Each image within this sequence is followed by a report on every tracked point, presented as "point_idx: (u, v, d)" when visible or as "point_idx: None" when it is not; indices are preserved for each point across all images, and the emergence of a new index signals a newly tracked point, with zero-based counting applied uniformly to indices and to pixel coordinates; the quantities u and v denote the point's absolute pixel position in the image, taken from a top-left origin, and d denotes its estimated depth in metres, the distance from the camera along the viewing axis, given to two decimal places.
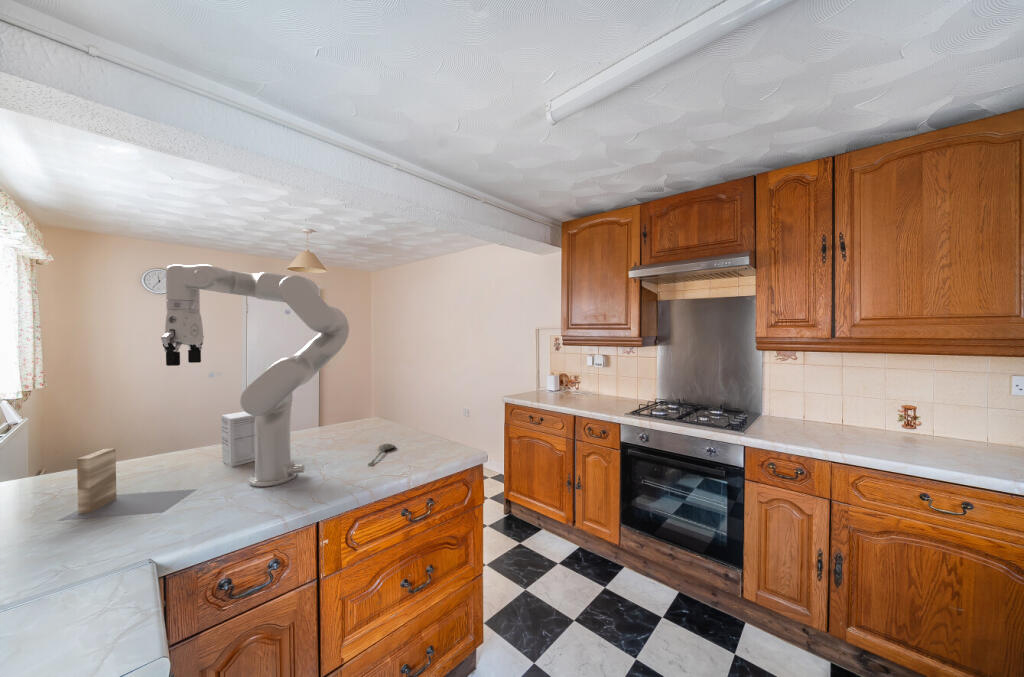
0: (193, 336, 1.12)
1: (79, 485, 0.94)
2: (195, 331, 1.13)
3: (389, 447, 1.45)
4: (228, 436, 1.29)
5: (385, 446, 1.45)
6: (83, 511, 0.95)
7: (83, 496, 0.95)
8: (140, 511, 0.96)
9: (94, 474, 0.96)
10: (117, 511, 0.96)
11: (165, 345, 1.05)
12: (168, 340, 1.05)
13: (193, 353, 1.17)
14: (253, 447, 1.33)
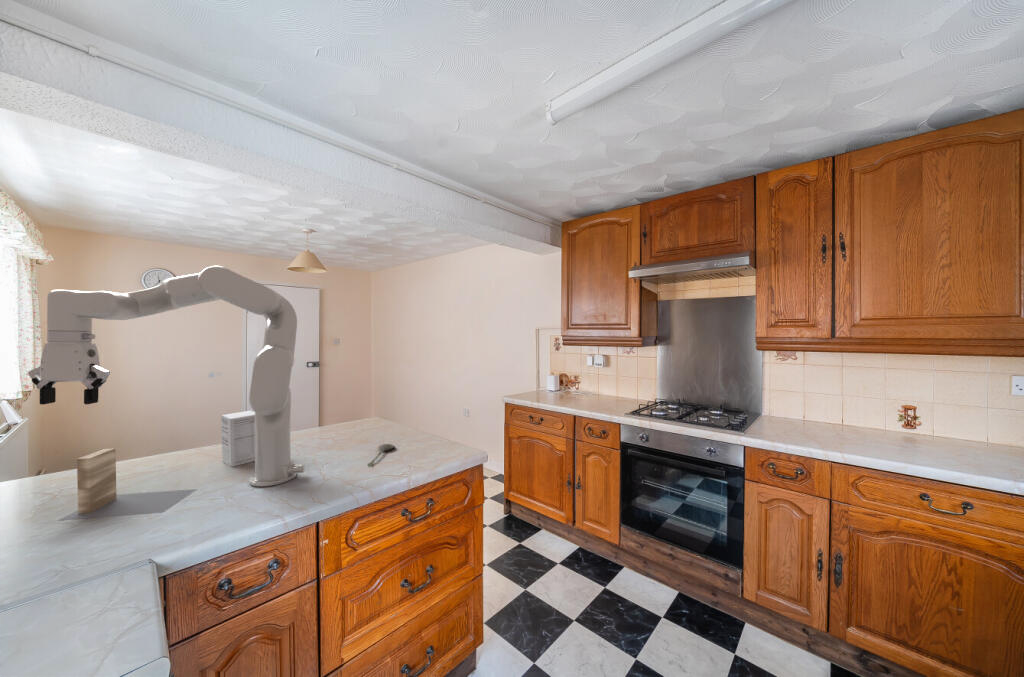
0: None
1: (79, 485, 0.94)
2: None
3: (389, 447, 1.45)
4: (228, 436, 1.29)
5: (385, 446, 1.45)
6: (83, 511, 0.95)
7: (83, 496, 0.95)
8: (140, 511, 0.96)
9: (94, 474, 0.96)
10: (117, 511, 0.96)
11: (103, 381, 0.99)
12: None
13: (49, 392, 0.97)
14: (253, 447, 1.33)
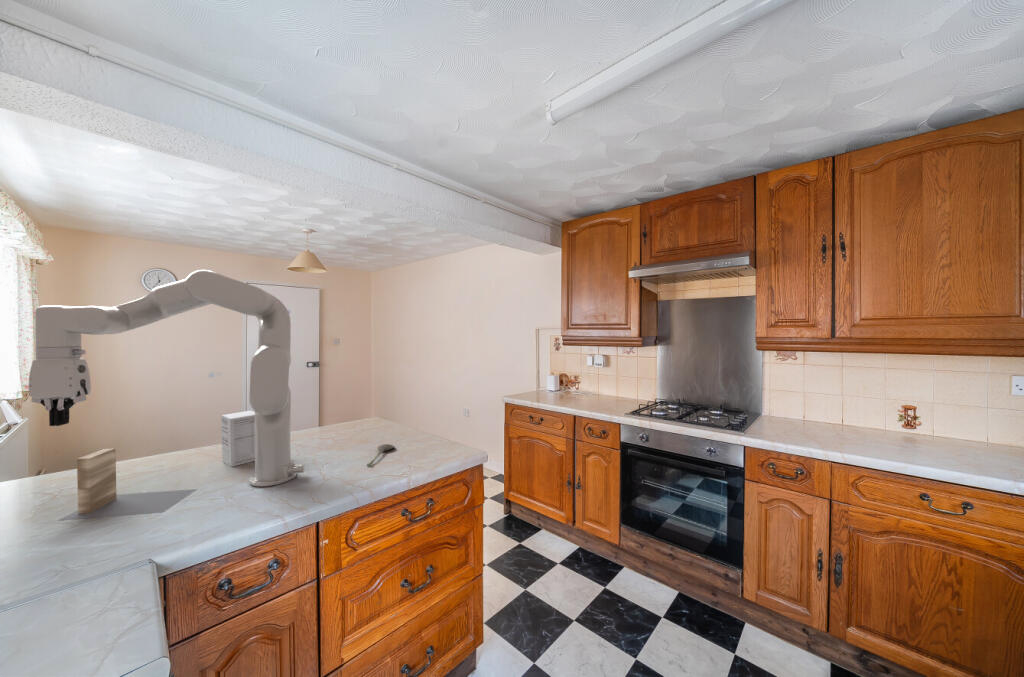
0: None
1: (79, 485, 0.94)
2: None
3: (388, 447, 1.45)
4: (228, 436, 1.29)
5: (384, 446, 1.45)
6: (83, 511, 0.95)
7: (83, 496, 0.95)
8: (140, 511, 0.96)
9: (94, 474, 0.96)
10: (117, 511, 0.96)
11: (74, 401, 0.97)
12: None
13: None
14: (253, 447, 1.33)
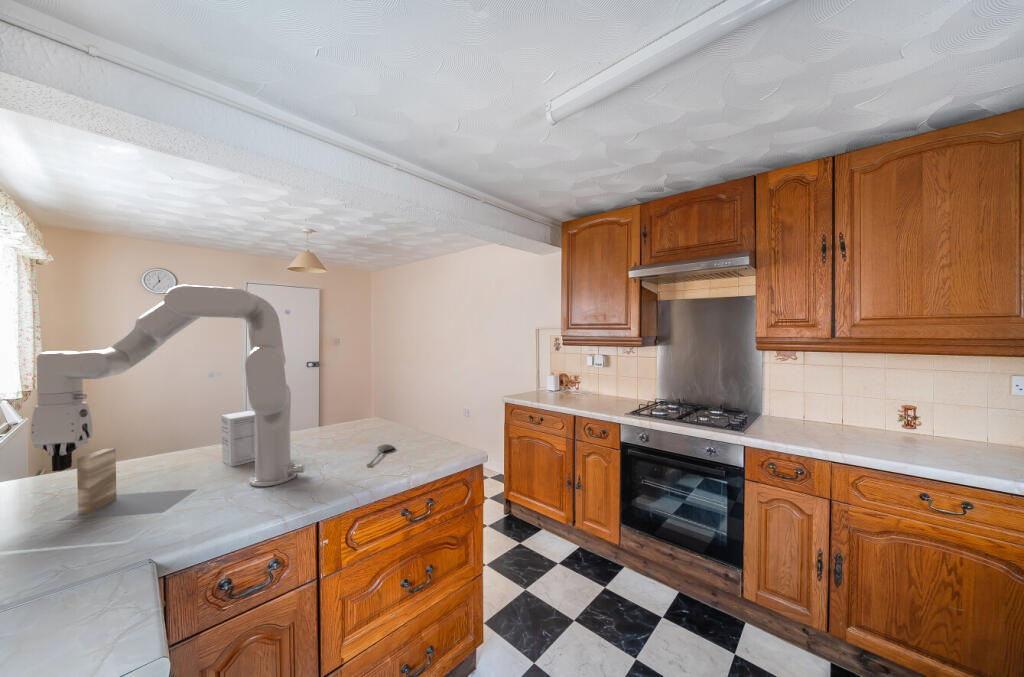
0: None
1: (79, 485, 0.94)
2: None
3: (388, 448, 1.45)
4: (228, 436, 1.29)
5: (384, 447, 1.45)
6: (83, 511, 0.95)
7: (83, 496, 0.95)
8: (140, 511, 0.96)
9: (94, 474, 0.96)
10: (117, 511, 0.96)
11: (76, 446, 0.97)
12: None
13: None
14: (253, 447, 1.33)
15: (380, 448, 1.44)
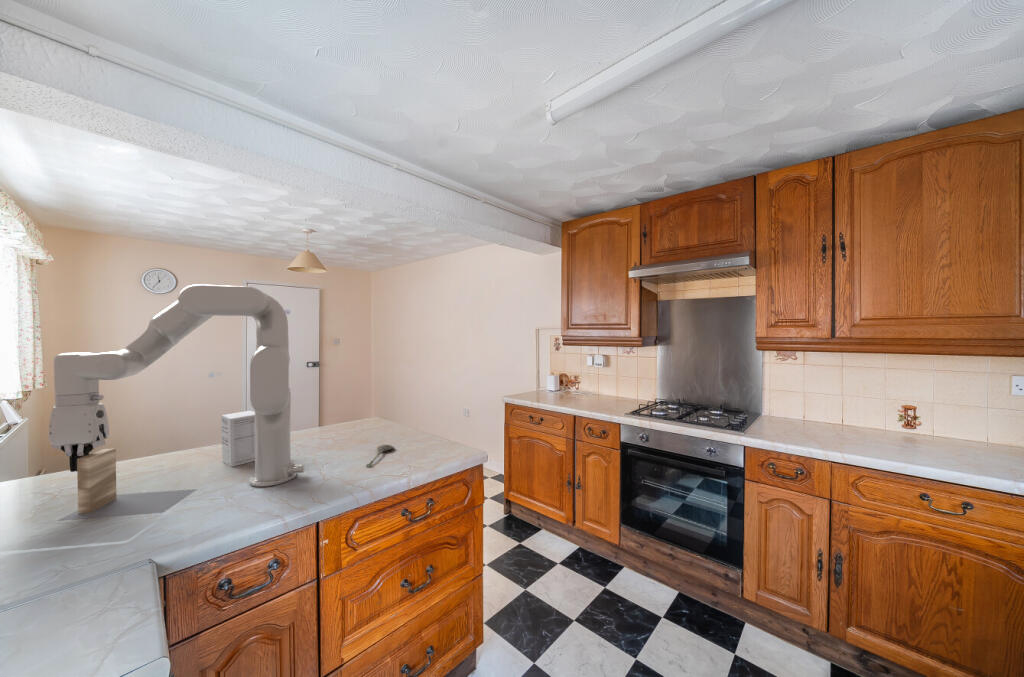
0: None
1: (79, 485, 0.94)
2: None
3: (388, 448, 1.44)
4: (228, 436, 1.29)
5: (384, 447, 1.44)
6: (83, 511, 0.95)
7: (83, 496, 0.95)
8: (140, 511, 0.96)
9: (94, 474, 0.96)
10: (117, 511, 0.96)
11: (93, 446, 0.98)
12: None
13: None
14: (253, 447, 1.33)
15: (380, 448, 1.44)
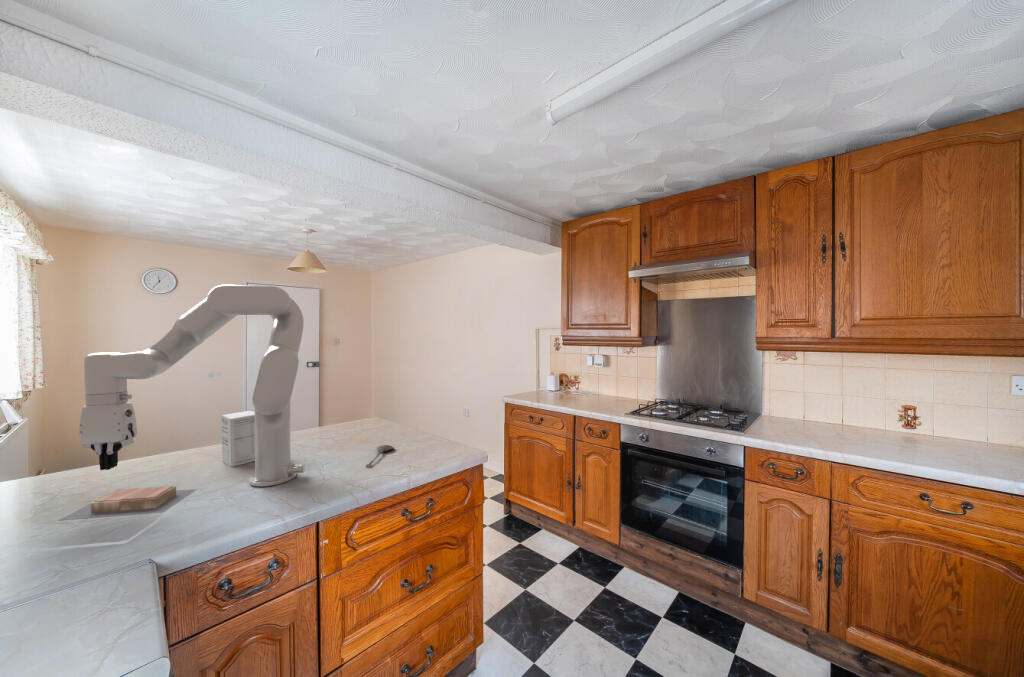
0: None
1: (124, 502, 0.96)
2: None
3: (387, 448, 1.44)
4: (228, 436, 1.29)
5: (383, 447, 1.44)
6: (93, 507, 0.95)
7: (111, 506, 0.96)
8: (140, 511, 0.96)
9: None
10: (117, 511, 0.96)
11: (122, 445, 0.99)
12: None
13: None
14: (253, 447, 1.33)
15: (379, 448, 1.43)
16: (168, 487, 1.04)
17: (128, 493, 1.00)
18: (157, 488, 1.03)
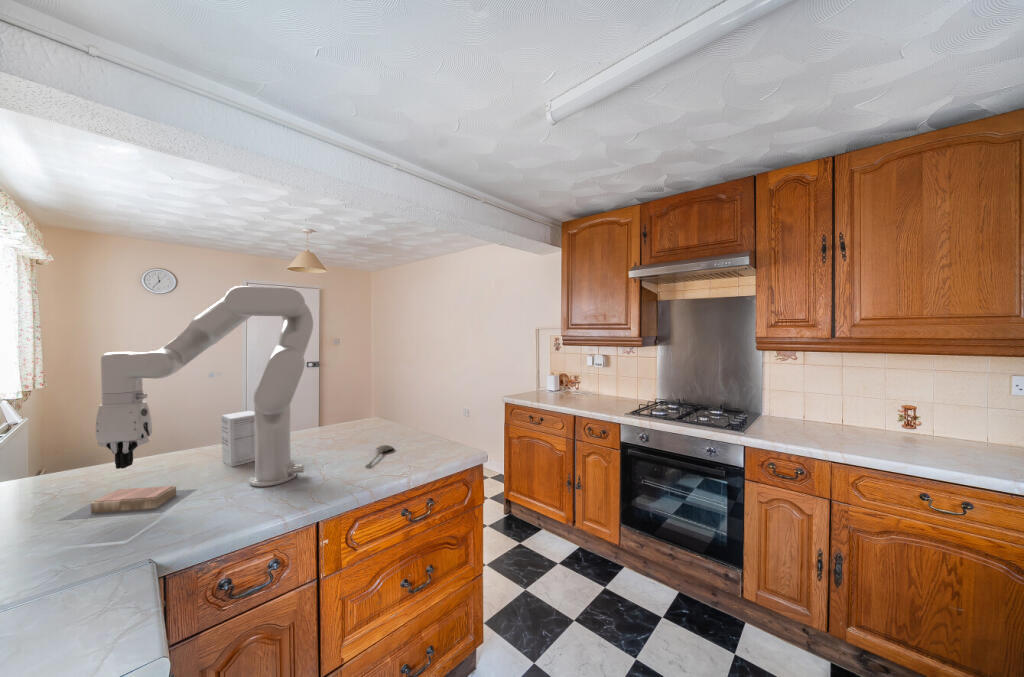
0: None
1: (124, 502, 0.96)
2: None
3: (387, 448, 1.44)
4: (228, 436, 1.29)
5: (383, 447, 1.44)
6: (93, 507, 0.95)
7: (111, 506, 0.96)
8: (140, 511, 0.96)
9: None
10: (117, 511, 0.96)
11: (137, 444, 1.00)
12: None
13: None
14: (253, 447, 1.33)
15: (379, 449, 1.43)
16: (168, 487, 1.04)
17: (128, 493, 1.00)
18: (157, 488, 1.03)
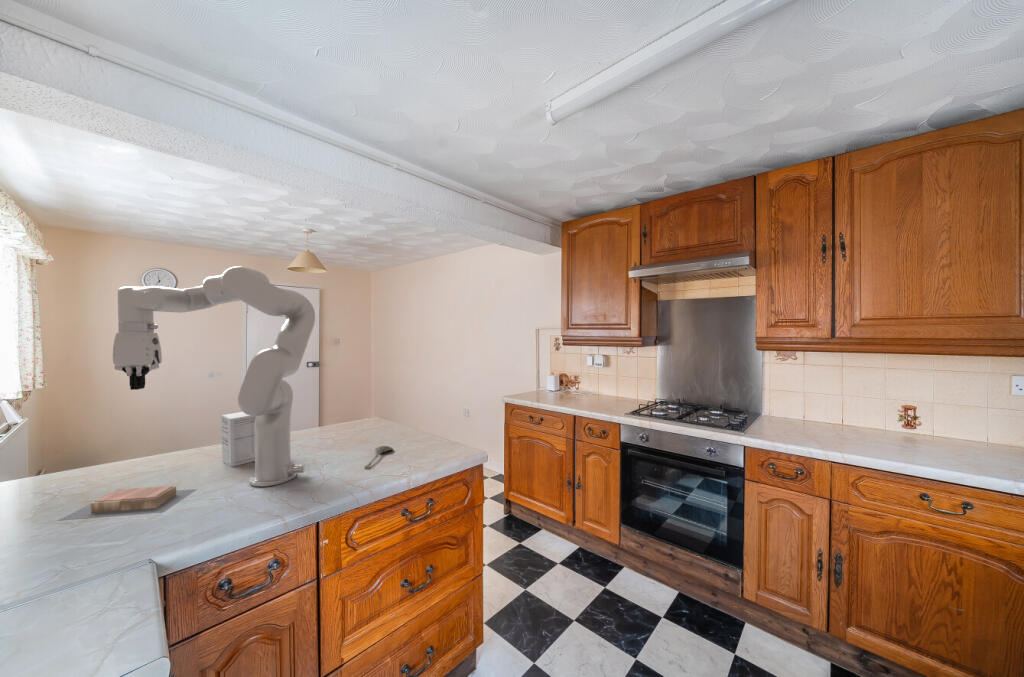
0: None
1: (124, 502, 0.96)
2: None
3: (386, 449, 1.43)
4: (228, 436, 1.29)
5: (382, 448, 1.43)
6: (93, 507, 0.95)
7: (111, 506, 0.96)
8: (140, 511, 0.96)
9: None
10: (117, 511, 0.96)
11: None
12: None
13: None
14: (253, 447, 1.33)
15: (378, 450, 1.42)
16: (168, 487, 1.04)
17: (128, 493, 1.00)
18: (157, 488, 1.03)
